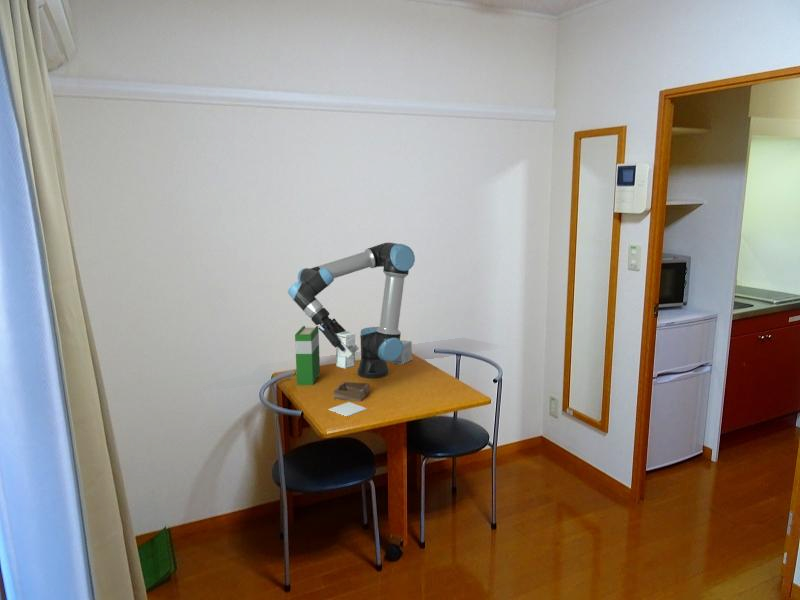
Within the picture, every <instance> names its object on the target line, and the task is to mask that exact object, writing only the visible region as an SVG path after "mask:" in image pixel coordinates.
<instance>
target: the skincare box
mask: <svg viewBox="0 0 800 600" xmlns="http://www.w3.org/2000/svg"><path fill="white" fill-rule="evenodd" d="M400 340H401V339H400ZM401 342H402V343H403V352H402V354H401V356H400V357H399V358H398V359H397V360H395V361H392V362H391V364H392V363H397V364H396V365H398V364H403V365H405V364H407V363H409V362H411V361H410V360H411V359H412V360H413V353H412V350H413V349H412V348H413V347H412V346H413V345H412V341H411V340H401ZM408 361H409V362H408ZM406 362H407V363H406ZM404 363H405V364H404Z"/></svg>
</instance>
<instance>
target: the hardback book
mask: <svg viewBox="0 0 800 600" xmlns="http://www.w3.org/2000/svg"><path fill="white" fill-rule="evenodd" d="M319 333H320V330H319V326H318V325H315V327H306V325H303V326H302V327H301V328H300V329H299V330H298V331H297V332H296V333H295V335H294V343H295V348H294V349H295V369H296V385H297V386H314V385H315V383H314V382H316V381H317V379H318V378H319V376H320V374H321V363H320V360H321V359H320V335H319ZM319 373H320V374H319ZM318 375H319V376H318ZM317 377H318V378H317Z"/></svg>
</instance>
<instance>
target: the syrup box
mask: <svg viewBox="0 0 800 600" xmlns="http://www.w3.org/2000/svg"><path fill="white" fill-rule="evenodd" d="M335 334H336V333H335ZM336 335H337V337H338V338H339V340H340V341H341V342H343V343H344V344H345V345H346V347H347V348H348V349H349V350H350V351H351V352H352V353H353V354H352V355H351V356H350V357H348V358H347V357H346V355H345V354H344V353H343V352H342V351H341V350H340V349H339V348H338V347H336V350H335V351H336V354H335V356H336V358H335V359H336V360H335V361H336V363H335V367H338V368H341V369H345V370H346V369H348V368H353V367H355V366H356V352H355V345H356V333H355V332H351V331H348V330H346V331H345V332H341V333H337V334H336Z"/></svg>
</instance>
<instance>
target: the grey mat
mask: <svg viewBox="0 0 800 600" xmlns="http://www.w3.org/2000/svg"><path fill="white" fill-rule="evenodd" d="M367 409H368V408H367V407H364V406H361V405H359V404H355V403H353V402H352V401H348V402H345V403H341V404H339V405H336V406H334V407H330V408H328V411H331V412H333V413H335V412H336V414H338V415H340V414H341V416H343V415H344V416H343V417H345V416H346V417H345V418H347V416H348V417H350V416H353V415H356V414H358V413H361V412H363V411H366V410H367Z"/></svg>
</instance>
